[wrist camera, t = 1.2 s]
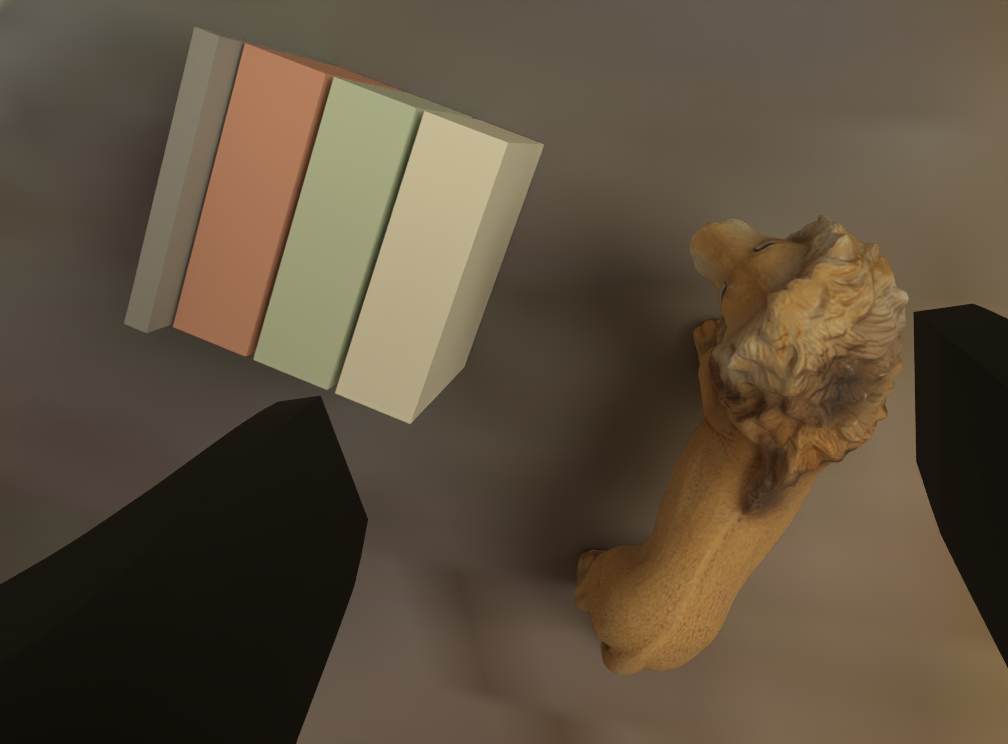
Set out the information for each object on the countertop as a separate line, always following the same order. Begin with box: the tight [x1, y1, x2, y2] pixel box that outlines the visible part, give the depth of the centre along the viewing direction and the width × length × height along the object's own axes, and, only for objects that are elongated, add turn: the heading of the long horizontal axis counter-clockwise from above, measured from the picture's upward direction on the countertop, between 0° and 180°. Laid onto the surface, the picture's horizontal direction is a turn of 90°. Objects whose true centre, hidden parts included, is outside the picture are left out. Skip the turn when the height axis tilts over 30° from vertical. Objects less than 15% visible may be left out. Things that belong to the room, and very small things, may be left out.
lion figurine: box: [574, 215, 908, 674], centre depth 22 cm, size 15×5×9 cm, turn 165°
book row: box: [124, 27, 544, 424], centre depth 23 cm, size 7×7×7 cm
